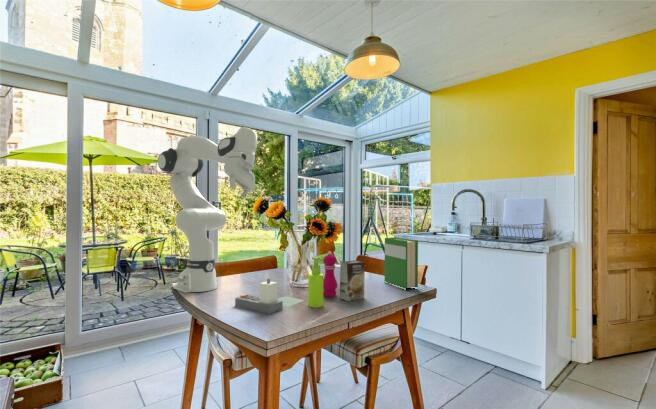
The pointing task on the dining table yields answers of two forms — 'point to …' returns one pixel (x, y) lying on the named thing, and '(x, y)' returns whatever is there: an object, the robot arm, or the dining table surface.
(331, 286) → the pepper mill
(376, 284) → the dining table surface
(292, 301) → the rubber mat
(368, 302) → the dining table surface
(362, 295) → the coffee box
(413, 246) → the hardback book
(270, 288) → the white pillar candle
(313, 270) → the soap dispenser
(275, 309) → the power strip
